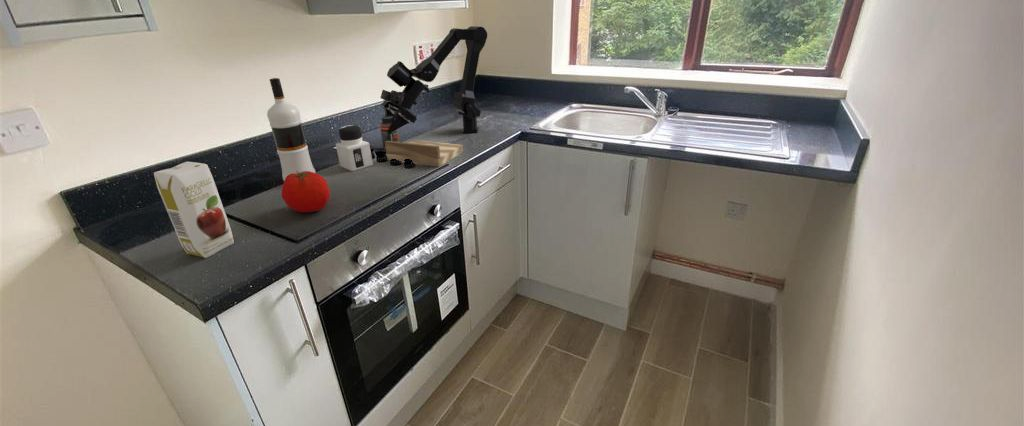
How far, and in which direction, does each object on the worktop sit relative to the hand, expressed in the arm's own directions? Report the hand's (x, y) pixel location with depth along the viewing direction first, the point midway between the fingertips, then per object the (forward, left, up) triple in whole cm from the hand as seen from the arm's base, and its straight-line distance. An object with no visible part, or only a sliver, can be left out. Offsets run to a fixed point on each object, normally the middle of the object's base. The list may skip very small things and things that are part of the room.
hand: (385, 130), depth 158 cm
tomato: (+51, -5, -7) cm, 52 cm away
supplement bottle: (-1, +1, -7) cm, 7 cm away
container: (+18, -5, -7) cm, 20 cm away
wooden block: (+9, +16, -7) cm, 20 cm away
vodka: (+30, -18, -7) cm, 36 cm away
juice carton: (+71, -18, -7) cm, 74 cm away
